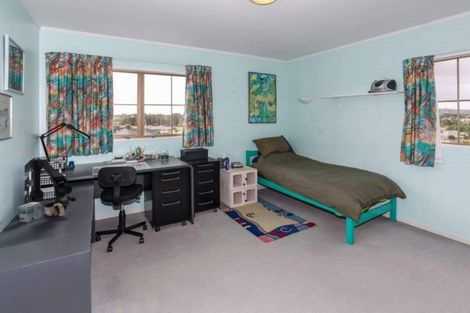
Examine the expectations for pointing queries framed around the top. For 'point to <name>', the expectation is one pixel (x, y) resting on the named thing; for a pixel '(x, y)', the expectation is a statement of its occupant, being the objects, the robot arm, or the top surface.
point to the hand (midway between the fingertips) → (61, 213)
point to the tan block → (49, 211)
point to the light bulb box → (30, 212)
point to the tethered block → (61, 210)
